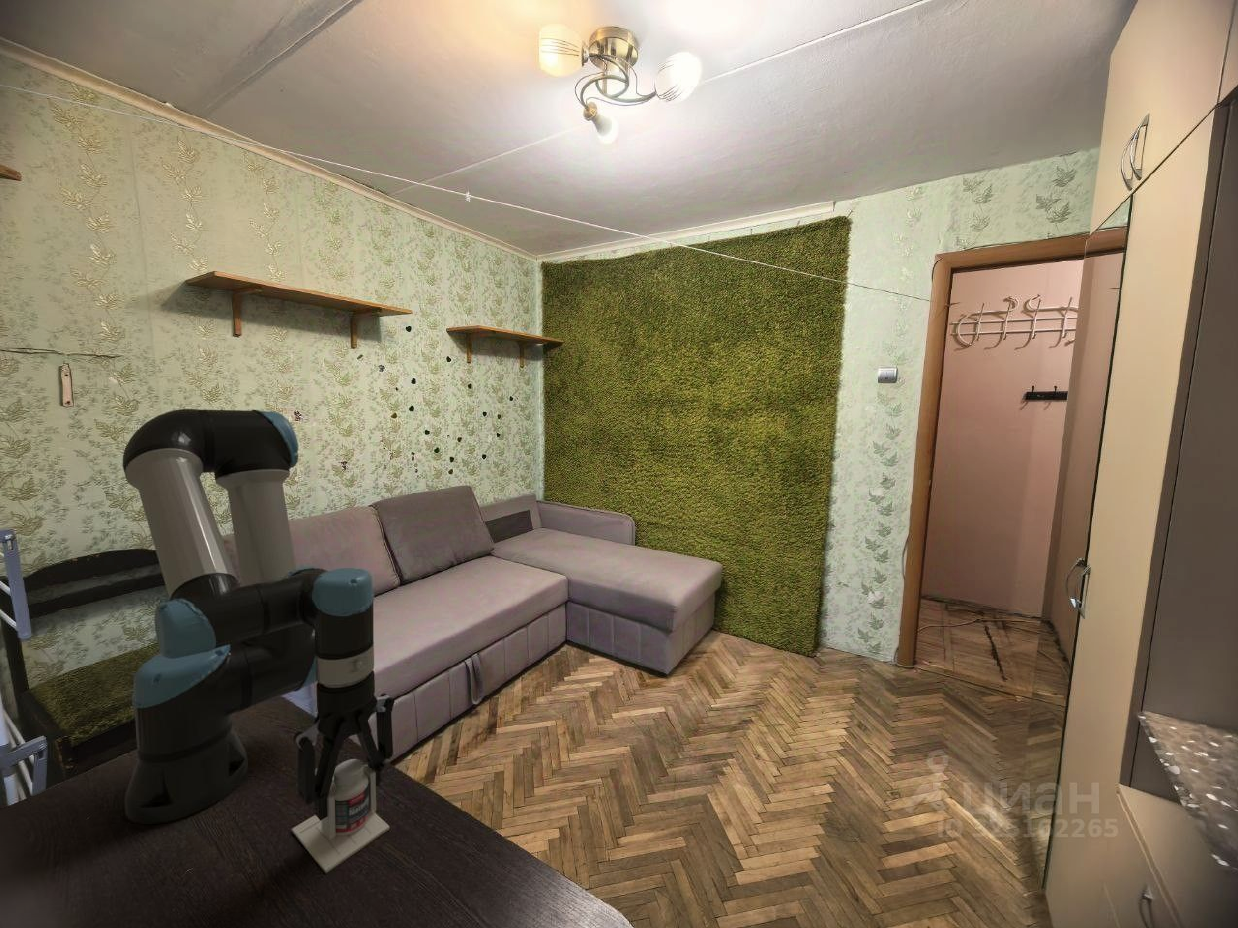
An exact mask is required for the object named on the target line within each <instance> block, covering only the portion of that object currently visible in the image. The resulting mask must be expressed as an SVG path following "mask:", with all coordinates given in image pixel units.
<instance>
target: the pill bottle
mask: <svg viewBox="0 0 1238 928" xmlns="http://www.w3.org/2000/svg"><path fill="white" fill-rule="evenodd" d="M364 765H365V764H364V761H363V760H361V759H358V758H353V759H352V758H351V759H347V760H345V761H343V762H341V763H339V764H338V765H337V766H336V768H335V770H334V782H333V783H332V785H331V787H330V791H331V792H332V793H333V794H334V795H335V831H336V835H338V836H344V835H349V834H352V833H354V832H356V831H357V830H359V829H360V828H361V827H363V826H364V824H365V823H366V822H367V820H368V817H369V781H368V777H367V775H366V774H365V773H364Z"/></svg>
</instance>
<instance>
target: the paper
mask: <svg viewBox="0 0 1238 928" xmlns="http://www.w3.org/2000/svg"><path fill="white" fill-rule="evenodd" d="M389 830H390V826H389V825H388V823H387V822H385V821H384V820H383V819H382V818H381V817H380V816H379V815H378V814H377V813H376V811H375V812H373V813H372V814H371V813H370V812H369V817H368V820H367V822H366V823H365V824H364V826H363V827H361V828H360V829H359V830H357V831H356V832H354V833H352V834H349V835H344V836H338V835H336V837H334V838H333V839H331V840H330V839H329V838H328V837H327V836H326V835H325V833H324V832H323V831H322V820H321V821H320V820H319V818H318V817H317V816H316V815H315V814H314V815H313V816H311V817H309V818H308V819H305V820H304V821H303V822H301V823H299V824H298V825H296V826H294V827H293V828H291V832H292V833H293V834H294V835H295V837H296V838H297V840H298V841H299V842H300V843H301V845H303V847H304V848H305V849H306V851H308V853H309V854H310V856H311V857H312V858H313V859H314V860H315V862H316V863H317V864H318V865H319V867H320V868H321V869H322V870H323V872H325V874H327V873H329V872H330V871H331V870H333V869H334V868H336V867H337V866H339V865H340V864H342V863H343V862H344V861H346V860H347V859H348V858H350V857H351V856H353V855H354V854H356V853H357V852H358V851H360V850H361V849H363V848H364V847H366V846H367V845H368V844H370V843H372V842H373V841H374V840H376V839H377V838H378V837H380V836H382V835H383V834H384V833H386V832H387V831H389Z"/></svg>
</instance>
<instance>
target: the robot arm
mask: <svg viewBox="0 0 1238 928" xmlns="http://www.w3.org/2000/svg"><path fill="white" fill-rule="evenodd" d="M298 451H299V443H298V438H297V435H296V432H295V430H294V428H293V426H292V424H291V422H290V420H288V419H287V417H285V416H284V415H283V414H282V413H279V412H276V411H265V410H264V411H263V410H258V409H251V410H240V409H237V410H236V409H235V410H234V409H232V410H231V409H195V408H183V409H182V408H181V409H174V410H171V411H166V412H164V413H161V414H159V415H157V416H154V417H153V418H152V419H149V420H148V421H146V422H145V423H144V424H142V426H140V427H139V428H138V429H137V430H136V431H135V432H134V433H133V434H132V436H131V437H130V439H129V440H128V442H127V444H126V446H125V447H124V452H123V454H122V470H123V472H124V476H125V479H126V481H127V483H128V484H129V485H130V486H131V487H132V488H135V489H137V490H138V493H139V497H140V500H141V503H142V507H143V510H144V513H145V514H144V515H145V518H146V521H147V524H148V529H149V532H150V535H151V538H152V542H153V545H154V549H155V553H156V555H157V560H158V562H159V566H160V571H161V573H162V578H163V580H164V584H165V587H166V591H167V595H168V598H169V601H166V602H163V603H161V604H160V605H159V606H157V608H155V611H154V630H155V631H154V632H155V634H156V643H157V647H158V650H159V653H157V654H155V655H154V656H153V657H151V658H149V660H147V661H146V662H145V663H143V664H142V665H141V666H140V667H139V668H138V670H137V671H136V673H135V675H134V678H133V689H132V691H133V692H132V697H131V704H132V706H133V707H134V716H135V719H134V720H135V733H136V734H135V735H136V736H135V737H136V748H137V750H136V751H137V761H136V764H135V766H134V769H133V771H132V775H131V777H130V781H129V783H128V786H127V788H126V792H125V795H124V811H125V816H126V818H127V819H128V820H129V821H131V822H133V823H135V824H140V825H156V824H158V825H159V824H164V823H169V822H172V821H176V820H180V819H184V818H185V817H188V816H191V815H193V814H195V813H196V814H197V813H198V812H200V811H203V810H204V809H206V808H208V807H211V806H213V805H214V804H216V803H217V802H219V801H220V800H222V799H223V798H225V797H226V796H227V795H229V794H230V793H231V792H233V791H234V790H235V789H236V788H237V786H238V787H239V785H240V784H241V783H242V781H243V780H244V779H245V776H246V775H247V772H248V768H249V767H248V766H249V765H248V754H247V752H246V749H245V747H244V746H243V743H242V742H241V741H240V738H239V737H238V735H237V733H236V731H235V729H234V726H233V724H234V723H233V715H234V714H237V713H240V712H242V711H245V710H247V709H250V708H253V707H255V706H258V705H261V704H264V703H266V702H269V701H271V700H274V699H276V698H279V697H283V696H284V695H287V694H291V693H292V692H295V693H296V692H299V691H301V690H302V689H303V688H306V687H308V686H311V685H313V684H316V686H315V687H316V690H315V691H316V709H317V710H316V711H317V713H316V717H315V719H314V723H313V725H311V726H310V727H309V728H307V730H305V731H297V732H296V733H295V734H294V735H293V741H294V742H295V743H294V744H296V747H297V754H298V755H297V757H298V759H297V762H298V763H297V767H298V768H297V770H298V771H297V772H298V773H297V774H298V776H297V780H298V781H297V782H298V783H297V784H298V785H297V787H298V793H297V794H298V796H299V797H300V799H301V800H302V801H303V802H304V803H305V804H306V805H311V804H312V803H313V805H314V812H313V813H314V815H316V816H317V817H318V818H319V820H320V821H321V820H322V831H323V832H324V833H325V835H326V836H327V837H328V838H329V839H330V840H331V839H333V838H334V837H336V831H335V795H334V794H333V793H332V792H331V791H330V787H331V783H332V779H333V775H334V770H335V766H336V765H337V762H338V757H339V753H340V751H341V750H342V748H343V746H344V741H346V740H347V739H348V738H350V737H351V736H355V735H356V736H357V738H358V742H359V744H360V747H361V749H362V752H363V755H364V757H365V760H366V762H367V763H368V764H367V763H366V764H364V773H365V774H366V775H367V777H368V781H369V812H370V813H371V814H372V813H373V812H375V813H376V811H377V787H379V786H380V785H381V782H382V771H383V770H384V768H385V766H386V765H385V763H384V762H385V761H386V760H390V759H391V758H392V757H393V755H394V745H393V743H394V741H393V722H392V720H393V719H392V712H393V708H394V704H395V699H394V698H392V697H391V696H389V695H388V694H387V693H385V692H384V693H382V694H380V696H377V697H376V695H375V693H376V690H375V689H376V682H375V681H376V677H375V671H374V667H375V645H374V644H375V641H374V633H375V632H374V601H375V600H374V599H375V592H374V591H375V590H374V589H373V588H374V587H373V579H372V575H371V573H370V572H368V571H367V570H366V569H362V568H355V567H347V568H337V569H332V570H326V569H324V568H319V567H316V566H313V565H312V566H311V565H310V566H309V565H308V566H307V565H306V566H299V567H297V564H296V558H295V553H294V547H293V545H294V544H293V541H292V533H291V529H290V528H291V527H290V521H289V515H288V510H287V503H286V497H285V491H284V482H286V480H287V479H288V478H289V477H290V476H291V471H290V469H293V468H295V466H296V465H297V464H298V461H299V453H298ZM205 473H206V474H207V473H208V474H211V473H213V475H214V481H215V484H216V485H218V486H220V487H221V488H223V489H225V490H226V492H227V496H228V503H229V504H228V505H229V509H230V516H231V521H232V523H231V524H232V530H233V535H234V543H235V549H236V556H237V563H238V564H237V565H238V569H239V576H240V582H241V586H240V584H239V582H238V581H239V580H238V577H237V575H236V571H235V570H234V566H233V564H232V561H231V558H230V556H229V553H228V549H227V548H226V545H225V542H224V539H223V537H222V534H221V532H220V528H219V526H218V523H217V521H216V518H215V515H214V513H213V510H212V507H211V504H210V502H209V499H208V496H207V494H206V493H207V492H206V491H205V488H204V485H203V483H202V480H201V477H202V475H203V474H205ZM375 710H376V711H375ZM374 711H375V716H376V717H375V718H376V736H377V737H376V739H377V745H376V743H375V740H374V739H375V738H374V737H373V734H372V729H371V726H370V723H369V720H370V718H371V716H372V715H373V713H374ZM319 734H322V735H323V738H322V749H321V753H320V757H319V758H320V759H319V761H318V766H317V768H318V769H317V768H316V751H315V748H314V746H316V745H317V736H318V735H319ZM336 767H337V766H336ZM315 769H317V773H316V776H315Z"/></svg>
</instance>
